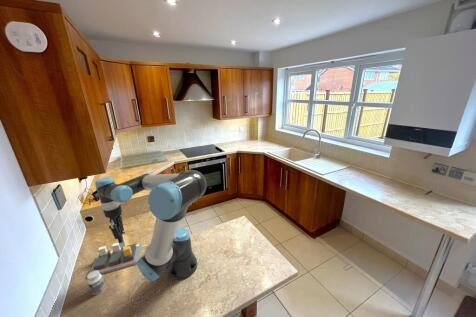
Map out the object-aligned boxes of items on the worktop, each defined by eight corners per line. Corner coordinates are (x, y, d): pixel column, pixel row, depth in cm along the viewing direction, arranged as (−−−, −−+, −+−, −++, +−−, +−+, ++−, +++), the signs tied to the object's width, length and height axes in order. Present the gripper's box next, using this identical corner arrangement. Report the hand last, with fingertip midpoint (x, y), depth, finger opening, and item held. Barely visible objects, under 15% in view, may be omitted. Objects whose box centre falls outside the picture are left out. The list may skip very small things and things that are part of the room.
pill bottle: (90, 290, 94) (84, 274, 91) (104, 282, 98) (99, 267, 95) (92, 297, 90) (86, 281, 87) (106, 289, 94) (101, 273, 91)
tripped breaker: (131, 255, 109) (129, 248, 108) (124, 256, 108) (123, 250, 107) (131, 252, 111) (130, 245, 110) (125, 253, 110) (123, 247, 109)
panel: (138, 263, 108) (135, 251, 106) (88, 278, 101) (83, 265, 98) (141, 245, 123) (139, 234, 120) (98, 256, 115) (94, 245, 113)
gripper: (116, 211, 91) (128, 252, 98) (123, 199, 103) (133, 236, 109) (98, 215, 89) (111, 256, 95) (107, 202, 101) (118, 240, 107)
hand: (123, 246), depth 102 cm, fingers closed
